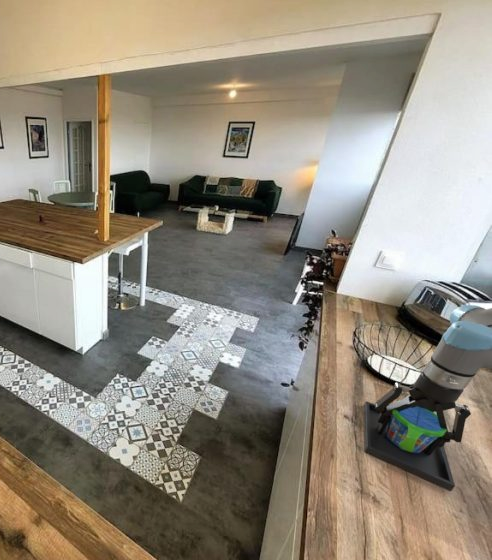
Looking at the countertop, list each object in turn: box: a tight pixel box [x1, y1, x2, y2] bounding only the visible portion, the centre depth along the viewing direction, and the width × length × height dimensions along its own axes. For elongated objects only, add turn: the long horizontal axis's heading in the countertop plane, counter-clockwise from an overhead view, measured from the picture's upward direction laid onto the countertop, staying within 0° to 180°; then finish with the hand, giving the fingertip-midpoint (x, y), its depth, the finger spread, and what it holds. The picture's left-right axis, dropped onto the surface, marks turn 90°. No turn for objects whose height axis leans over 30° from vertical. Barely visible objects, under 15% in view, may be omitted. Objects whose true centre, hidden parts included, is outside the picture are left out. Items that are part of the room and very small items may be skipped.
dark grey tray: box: [362, 400, 456, 492], centre depth 85 cm, size 17×20×2 cm
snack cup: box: [386, 400, 448, 453], centre depth 83 cm, size 16×11×10 cm
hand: (402, 440), depth 85 cm, fingers closed on snack cup, 9 cm apart
